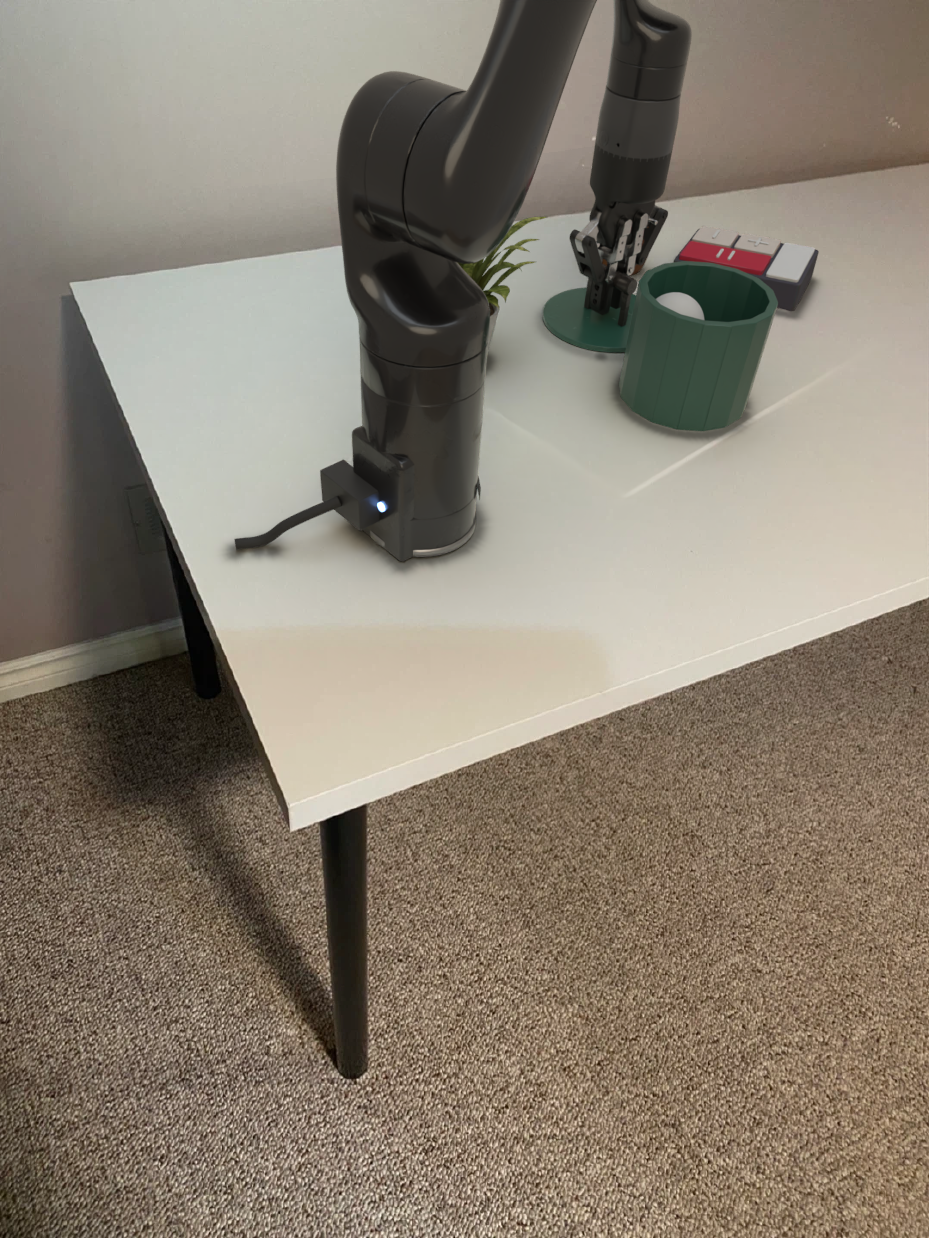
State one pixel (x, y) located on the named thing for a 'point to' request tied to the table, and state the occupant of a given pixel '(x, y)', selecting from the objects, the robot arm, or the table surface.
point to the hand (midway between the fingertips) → (606, 308)
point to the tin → (696, 346)
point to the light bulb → (681, 304)
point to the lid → (592, 317)
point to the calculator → (756, 260)
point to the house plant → (480, 267)
